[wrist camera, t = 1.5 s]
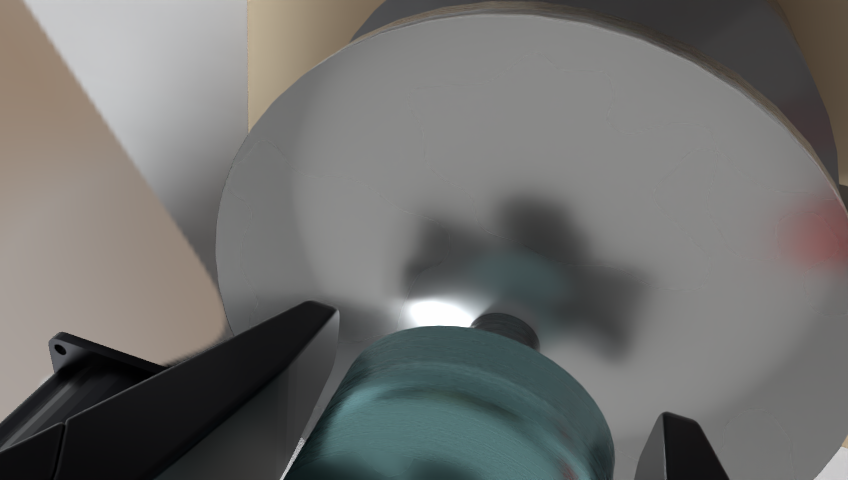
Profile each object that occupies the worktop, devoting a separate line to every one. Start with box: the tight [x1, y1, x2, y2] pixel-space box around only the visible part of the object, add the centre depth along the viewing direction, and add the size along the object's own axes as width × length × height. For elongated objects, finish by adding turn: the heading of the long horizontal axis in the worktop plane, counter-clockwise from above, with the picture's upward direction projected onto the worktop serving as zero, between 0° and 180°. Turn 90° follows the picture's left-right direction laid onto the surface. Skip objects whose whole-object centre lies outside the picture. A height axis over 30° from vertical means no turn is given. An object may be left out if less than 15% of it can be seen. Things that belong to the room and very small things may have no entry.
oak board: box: [247, 0, 848, 448], centre depth 16 cm, size 18×13×1 cm
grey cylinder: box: [349, 0, 848, 212], centre depth 14 cm, size 12×9×4 cm
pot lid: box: [215, 1, 848, 480], centre depth 8 cm, size 9×9×4 cm
